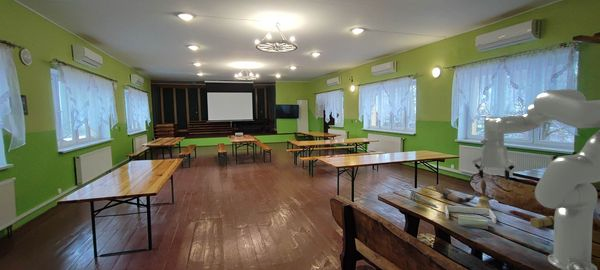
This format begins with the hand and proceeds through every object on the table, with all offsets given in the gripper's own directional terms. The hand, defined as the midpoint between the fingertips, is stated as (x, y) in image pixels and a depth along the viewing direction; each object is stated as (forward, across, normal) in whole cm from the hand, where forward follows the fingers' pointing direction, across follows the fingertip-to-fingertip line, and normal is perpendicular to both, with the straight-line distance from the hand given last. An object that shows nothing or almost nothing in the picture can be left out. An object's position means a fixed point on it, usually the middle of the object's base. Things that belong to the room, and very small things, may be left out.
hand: (493, 178), depth 130 cm
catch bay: (+24, -9, +10) cm, 27 cm away
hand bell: (+24, 0, +28) cm, 37 cm away
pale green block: (+24, -9, -1) cm, 26 cm away
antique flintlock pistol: (+24, -14, +35) cm, 45 cm away
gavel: (+24, +16, +15) cm, 33 cm away
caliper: (+24, -32, +26) cm, 48 cm away
